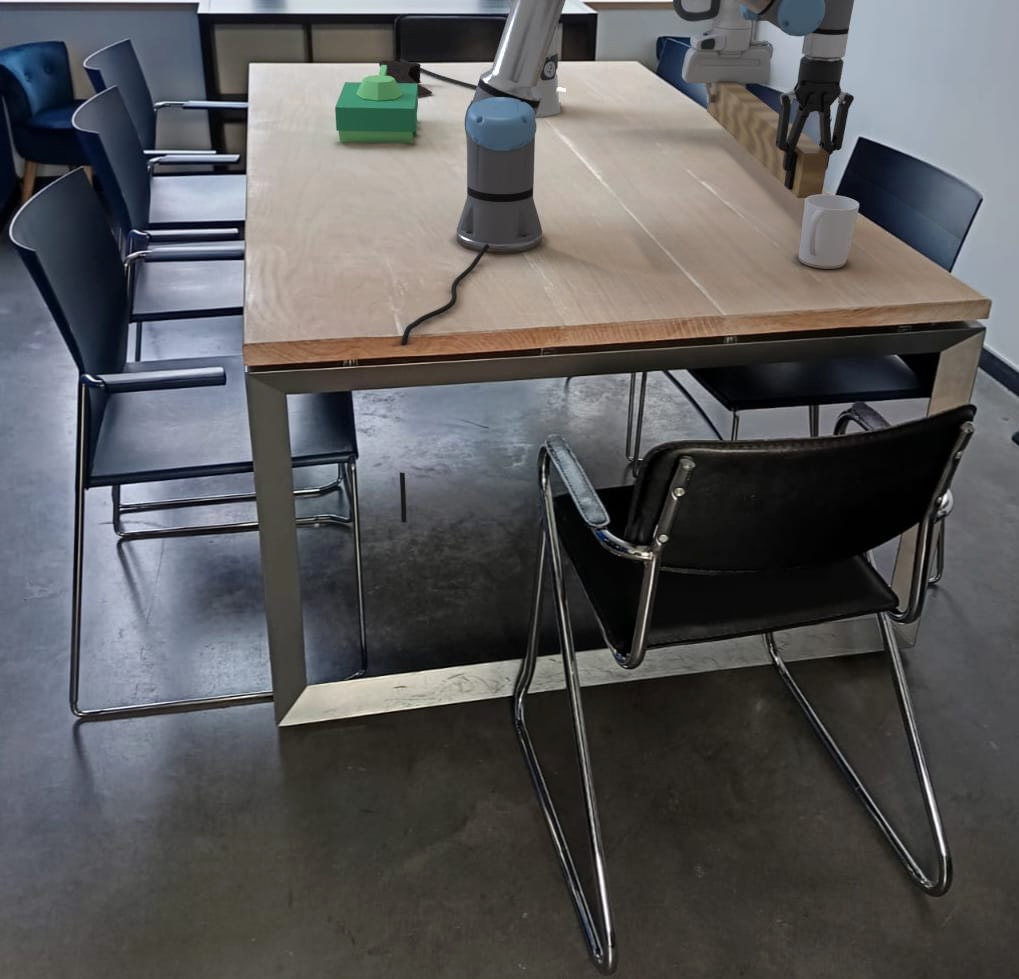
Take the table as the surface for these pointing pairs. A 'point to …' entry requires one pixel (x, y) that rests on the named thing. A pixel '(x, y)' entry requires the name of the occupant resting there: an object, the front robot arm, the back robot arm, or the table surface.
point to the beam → (767, 137)
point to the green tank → (377, 110)
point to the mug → (827, 230)
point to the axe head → (405, 74)
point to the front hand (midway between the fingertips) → (801, 187)
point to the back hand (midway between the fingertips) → (722, 102)
